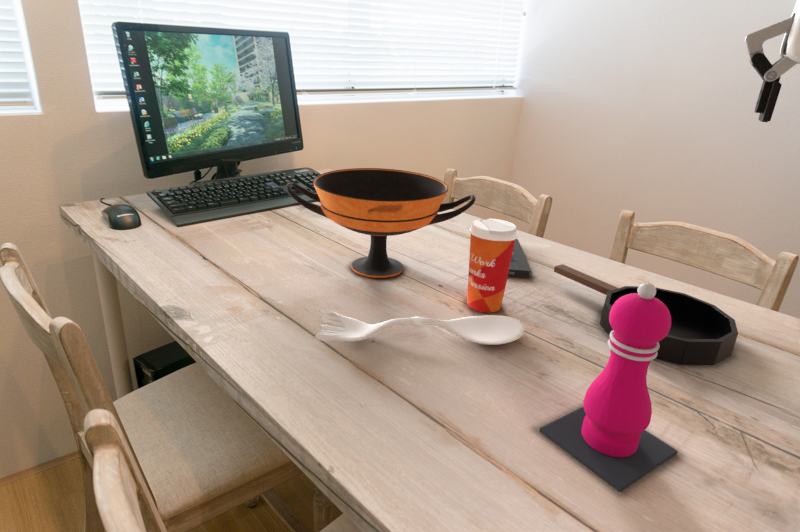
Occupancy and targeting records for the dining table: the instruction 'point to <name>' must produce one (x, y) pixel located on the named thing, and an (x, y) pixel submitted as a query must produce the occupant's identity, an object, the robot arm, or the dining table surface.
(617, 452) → the pepper mill
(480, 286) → the coffee cup
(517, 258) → the smart home device
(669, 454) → the slate mat
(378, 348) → the dining table surface
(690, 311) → the pan
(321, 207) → the cup
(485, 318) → the spoon
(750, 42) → the robot arm
